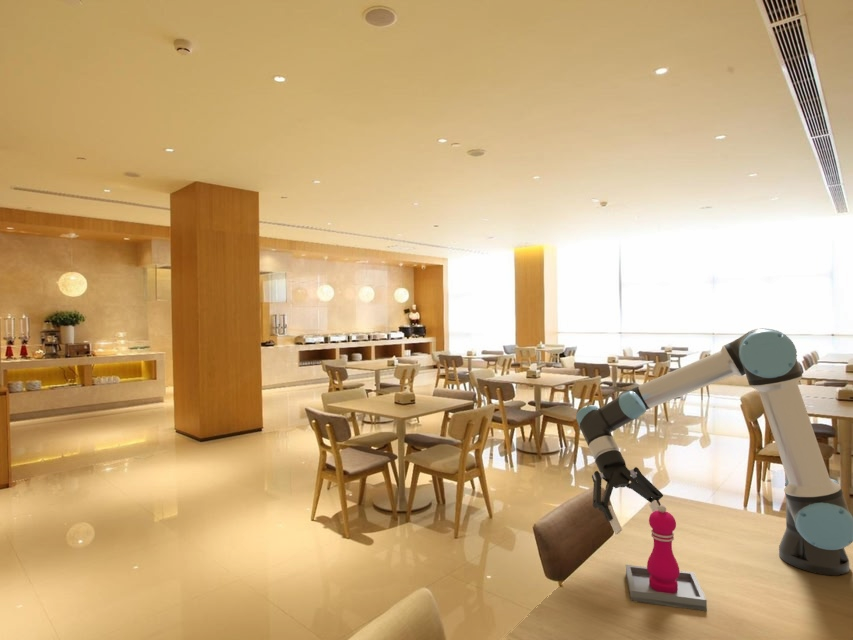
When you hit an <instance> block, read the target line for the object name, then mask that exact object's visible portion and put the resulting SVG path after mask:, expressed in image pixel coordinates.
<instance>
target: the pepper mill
mask: <svg viewBox="0 0 853 640" xmlns="http://www.w3.org/2000/svg"><path fill="white" fill-rule="evenodd" d="M658 510H659V511H654V512H651V513H650V515H649V519H648V524H649V526H650V528H651V531H650V532H651V537H652V539H653V548H652V550H651V552H650V555H649V557H648V559H647V562H646V563H647V564H646V567H647V570H648V572H649V574H650V575H651V576H650V577H649V584H650V587H651V588H652V589H654V590H655V591H658V592H664V593H675V592H677V590H678V583H677V581H676V579H677V578H678V577H679V575H680V572H679V571H680V566H679V563H678V562H677V559H676V557H675V555H674V552H673V546H672V545H673V541H674V539H675V536H674V535H675V533H674V531H675V530H676V527H677V521H676V519H675V517H674V515H672V514H671V513H670V512H669V511H667V507H666V506H665V505H663V504H661V505H660V506H659V507H658Z"/></svg>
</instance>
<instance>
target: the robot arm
mask: <svg viewBox="0 0 853 640" xmlns="http://www.w3.org/2000/svg"><path fill="white" fill-rule="evenodd" d="M797 356H798V355H797V348H796V346H795V344H794V342H793V340H792V339H790V337H789V336H788V335H786V334H785V333H783V332H781V331H779V330H775V329H770V328H755V329H752V330H750V331H748V332H746V333H745V334H743V335H741V336H740V337H738V338H737V339H735V340H733V341H731V342H728V343H726V344H725V345H722V347H721V349H720V350H719V351H717V352H715V353H713V354H710V355H708V356H706V357H702V358H701V359H698V360H696V361H694V362H691V363H689V364H686V365H685V366H683V367H680V368H677V369H675V370H672V371H670V372H668V373H665V374H663V375H661V376H659V377H655V378H654V379H651V380H649V381H647V382H644V383H642V384H640V385H638V386H635V387H633V388H630V389H626V390H624V391H622V392H620V393H619V394H618V395H617V396H616V397H615V398H614V399H613V400H611V401H610V402H608V403H606V404H605V405H603V406H601V407H598V406H596V405H587V406H584V407H582V408H580V409H579V410H578V411H577V413H576V415H575V419H576V422H577V424H578V428H579V430H580V432H581V433H582V435H583V438H584V441H585V442H586V444H587V446H588V449H589V451H590V453H591V455H592V457H593V459H594V461H595V464H596V466H597V469H598V470H595V471H594V473H593V474H592V475H591V479H592V482H593V489H592V490H593V492H592V493H593V495H592V506H593V508H594V509H598V510H599V511H600V512H602V513H603V516H604V517H605V520H606V521H607V522H609V523H610V525H611V528H612V530H613V532H614V534H615V535H619V534H620V533H621V532H622V531H623V528H622V526H621V523H620V521H619V519H618V517H617V514H616V512H615V510H614V507H613V505H611V504H610V503H609V502H610V499H611V495H612V492H613V489H618V488H627V489H631V490H632V491H634V492H635V493H636V494H638V495H639V496H640V497H643V499H645V501H648V502H649V508H650V509H651V511H652V512H651V513H653V512H654V511H659V510H658V507H659V506H660V505H662V504H661V501H660V500H662V498H663V497H664V493H662V492H661V491H660V490H659V489H658V488H657V487H656V486H655V485H654V484H653V483H652V482H651V481H650V480H648V478H647V477H645V476H644V475H643V473H642V472H641V470H640V469H639V468H638V466H635V467H634V468H633V469H629V468H628V467H627V464H626V460H625V459H624V457H623V455H622V453H621V451H620V448H619V446H618V444H617V442H616V441H615V438H614V437H613V435H612V432H614V431H616V430H618V429H619V428H621V427H624V426H625V425H627V424H629V423H630V422H632V421H634V420H637V419H639V418H640V417H641V416H642V415H644V414H646V412H647V411H648V410H649V409H652V408H655V407H657V406H659V405H662V404H664V403H667V402H670V401H673V400H675V399H678V398H679V397H682V396H685V395H688V394H690V393H692V392H695V391H697V390H700V389H702V388H705V387H707V386H710V385H712V384H715V383H718V382H720V381H722V380H725V379H727V378H730V377H733V376H739V377H743V376H746V380H747V383H748V385H749V387H750V388H752V389H754V390H756V391H758V394H759V397H760V401H761V403H762V407H763V410H764V413H765V416H766V418H767V421H768V424H769V427H770V430H771V434H772V437H773V439H774V442H775V443H774V444H775V446H776V448H777V452H778V455H779V458H780V460H781V463H782V466H783V470H784V472H785V483H784V486H785V488H784V490H783V491H784V493H785V522H786V523H785V524H786V525H785V526H786V527H785V530H784V533H783V535H782V538H781V541H780V543H779V545H778V546H779V547H778V555H779V558H780V559H781V560H782V561H784V562H785V563H787V564H789V565H791V566H792V567H794V568H797V569H799V570H802V571H805V572H809V573H814V574H818V575H826V576H841V575H840V574H843V575H846V574H848V573H849V572H850V560H849V556H848V555H847V551H846V550H845V548H847V547H848V546H850V545H851V544H852V543H853V515H852V514H851V512H850V509H849V507H848V504H847V501H846V499H845V496H844V492H843V491H842V490H843V489H842V488H841V487H842V486H841V485H840V483H839V482H838V481H837V480H836V479H832V478H831V477H830V474H829V472H828V469H827V465H826V463H825V460H824V458H823V454H822V452H821V448H820V446H819V443H818V440H817V437H816V434H815V432H814V428H813V425H812V423H811V420H810V419H811V418H810V416H809V414H808V411H807V408H806V406H805V402H804V399H803V395H802V394H801V391H800V388H799V382H800V381H801V379H802V378H803V374H802V372H801V368H800V365H799V363H798V358H797ZM602 480H604V481H605V482H606V485H605V487H604V488H605V489H604V493H603V496H602ZM609 504H610V505H609ZM845 573H846V574H845Z"/></svg>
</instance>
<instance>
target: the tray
mask: <svg viewBox="0 0 853 640" xmlns="http://www.w3.org/2000/svg"><path fill="white" fill-rule="evenodd" d="M679 572H680V575H679V577H678V578H677V579H676V581H677V583H678V590H677V592H675V593H664V592H658V591H655V590H654V589H652V588H651V587H650V584H649V577H650V576H651V575H650V574H649V572H648V570H647V566H641V565H632V564H625V577H626V580H627V581H626V582H627V585H628V586H627V587H628V592H629V597H630V601H631V602H634V601H637V602H636V603H641V604H643V603H644V604H650V605H658V606H664V607H665V606H666V607H674V608H679V609H681V608H682V609H687V610H688V609H689V610H695V611H696V610H697V611H704V612H705V611H706V612H707V611H708V610H707V609H708V605H707V602H708V600H707V598H706V596H705V593H704V591H703V589H702V586H701V585H700V583H699V580H698V579H697V577H696V576H697V575H696V573H695V572H694V571H693V572H692V571H686V570H685V571H684V570H679Z"/></svg>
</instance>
